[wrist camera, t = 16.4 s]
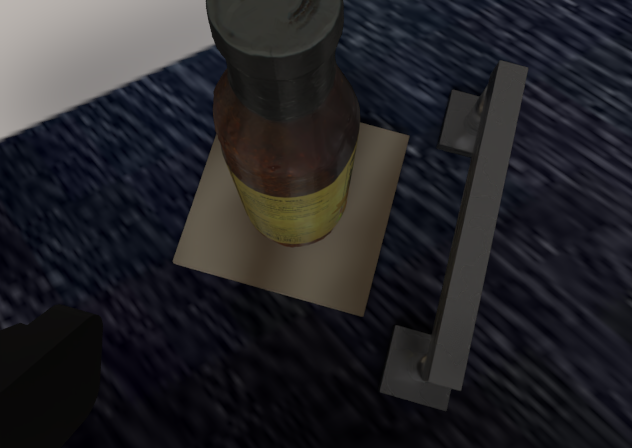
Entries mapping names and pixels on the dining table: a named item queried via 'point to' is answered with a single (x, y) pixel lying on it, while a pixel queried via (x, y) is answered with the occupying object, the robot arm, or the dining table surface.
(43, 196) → the dining table surface
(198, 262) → the birch pad
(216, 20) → the sauce bottle
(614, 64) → the dining table surface
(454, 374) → the grey bar handle
